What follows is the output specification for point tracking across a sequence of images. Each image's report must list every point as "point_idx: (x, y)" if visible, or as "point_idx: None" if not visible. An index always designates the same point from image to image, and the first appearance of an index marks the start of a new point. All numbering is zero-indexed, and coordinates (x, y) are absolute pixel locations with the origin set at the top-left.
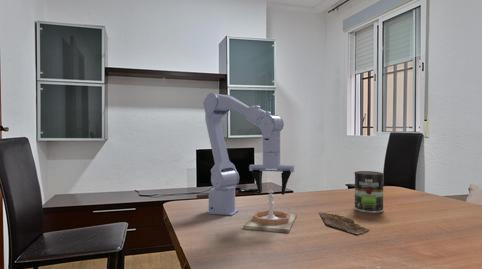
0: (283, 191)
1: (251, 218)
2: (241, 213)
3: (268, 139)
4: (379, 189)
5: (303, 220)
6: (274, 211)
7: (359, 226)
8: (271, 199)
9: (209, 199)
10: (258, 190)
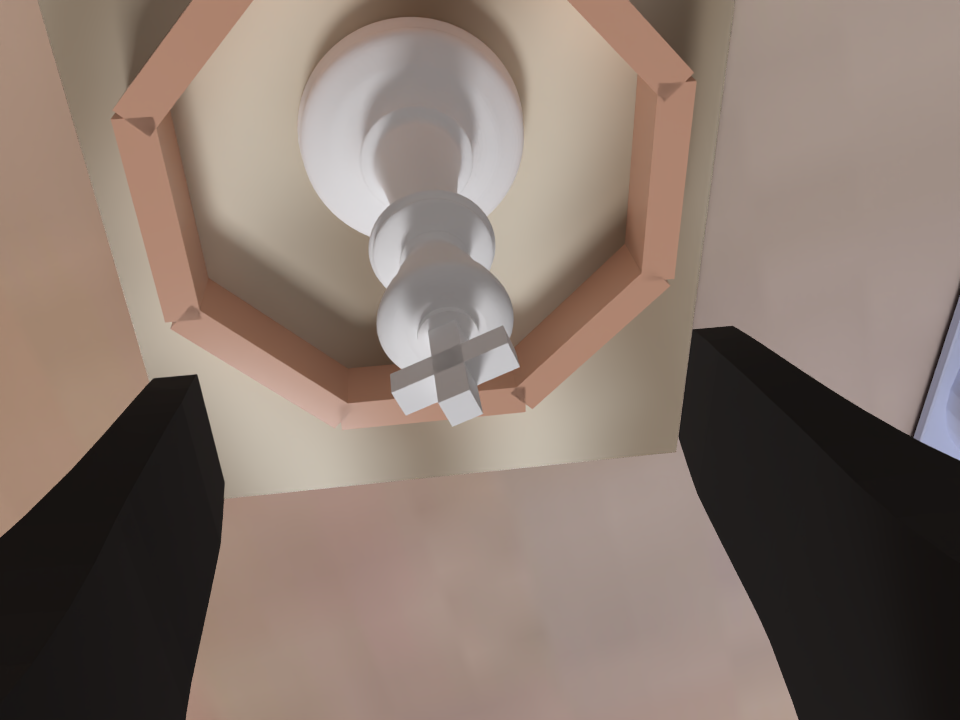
0: (127, 408)
1: (705, 131)
2: (857, 395)
3: None
4: None
5: (56, 386)
6: None
7: None
8: (418, 256)
9: None
10: (762, 349)
